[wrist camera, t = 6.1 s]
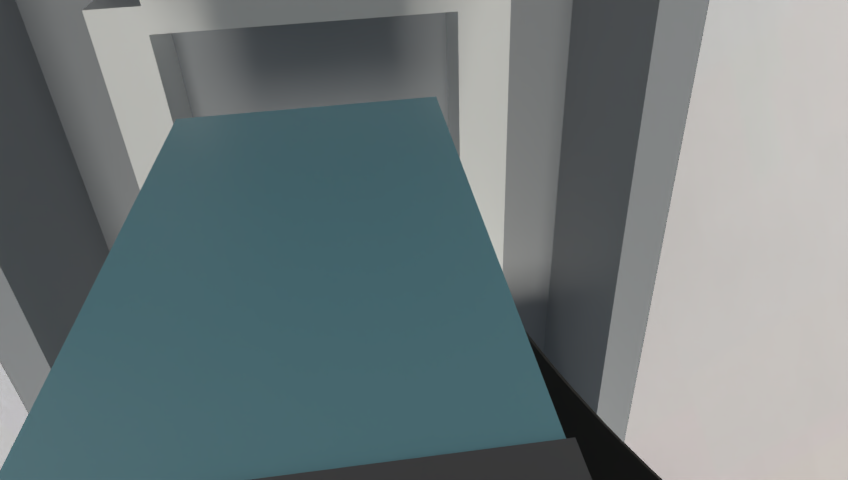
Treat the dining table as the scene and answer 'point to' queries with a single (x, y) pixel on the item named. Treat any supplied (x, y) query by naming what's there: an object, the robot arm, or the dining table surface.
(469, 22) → the walled box
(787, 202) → the dining table surface
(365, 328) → the grey-banded teal box
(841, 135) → the dining table surface
